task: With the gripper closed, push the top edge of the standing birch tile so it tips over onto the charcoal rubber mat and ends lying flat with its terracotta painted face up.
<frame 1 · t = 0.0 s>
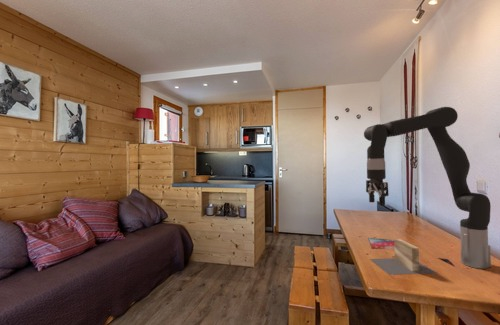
hand: (376, 203, 108), 29 cm above the table, tool pointing down, fingers open, 8 cm apart
mat: (401, 267, 107), on the table
cell phone: (432, 262, 113), on the table
tile: (406, 265, 107), point 1 cm above the table, touching mat
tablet: (388, 247, 134), on the table
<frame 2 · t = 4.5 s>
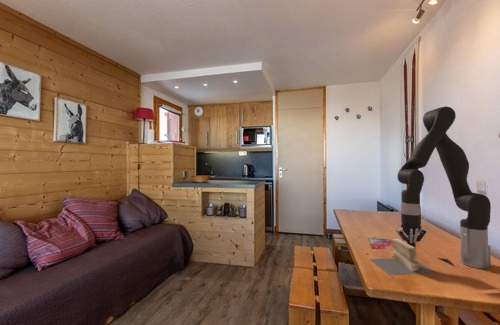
hand: (411, 250, 107), 8 cm above the table, tool pointing down, fingers closed
tile: (406, 264, 107), point 1 cm above the table, tilted 9°, touching gripper, mat
everything else where it was.
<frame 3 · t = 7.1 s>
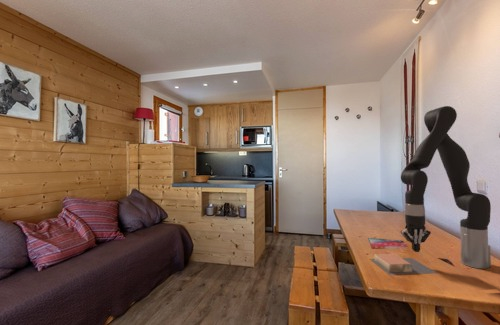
hand: (416, 251, 107), 7 cm above the table, tool pointing down, fingers closed
tile: (402, 262, 107), point 2 cm above the table, tilted 90°, touching mat
everything else where it was.
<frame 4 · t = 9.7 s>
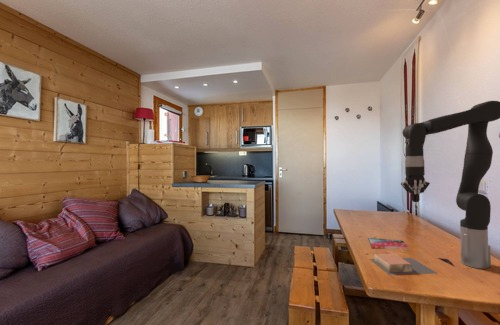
hand: (415, 201, 112), 29 cm above the table, tool pointing down, fingers closed
nothing on the table moved.
at the end: tile tilted 90°; tile touching mat; tile inside the target area (1.4 cm from its centre), point 2.5 cm above the table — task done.
